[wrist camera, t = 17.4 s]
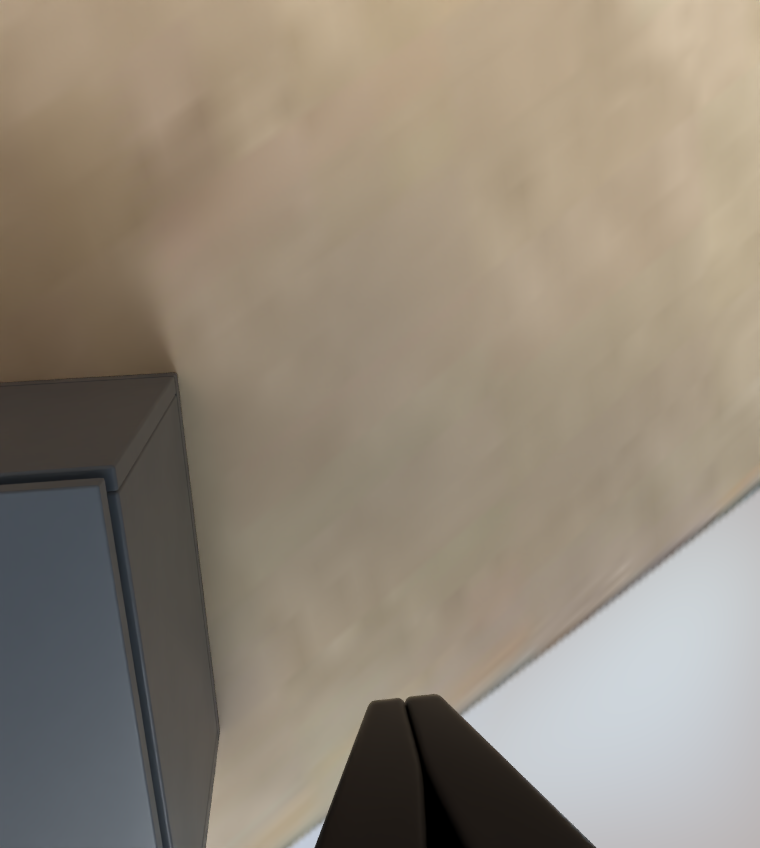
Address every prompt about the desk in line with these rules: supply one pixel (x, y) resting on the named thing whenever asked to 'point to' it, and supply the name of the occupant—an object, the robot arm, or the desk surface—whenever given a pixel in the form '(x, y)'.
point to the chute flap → (68, 677)
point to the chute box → (137, 559)
